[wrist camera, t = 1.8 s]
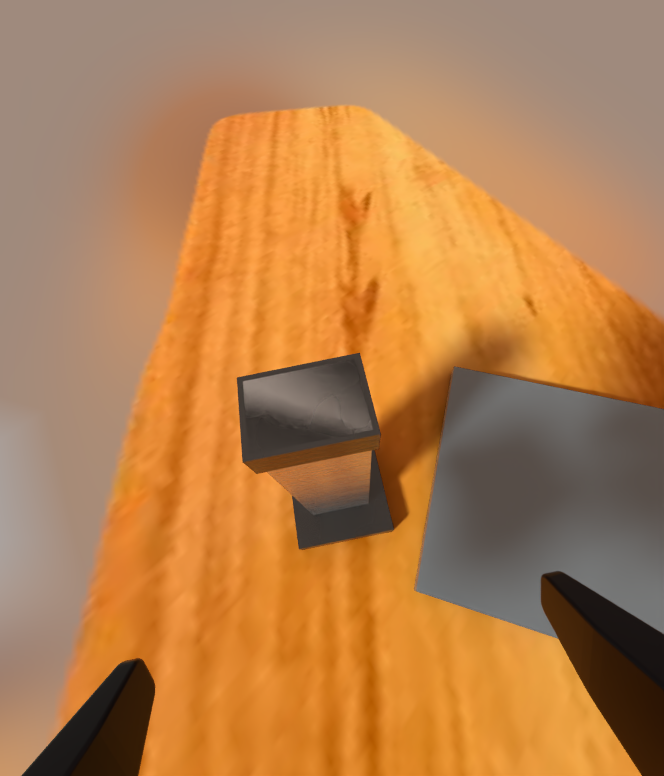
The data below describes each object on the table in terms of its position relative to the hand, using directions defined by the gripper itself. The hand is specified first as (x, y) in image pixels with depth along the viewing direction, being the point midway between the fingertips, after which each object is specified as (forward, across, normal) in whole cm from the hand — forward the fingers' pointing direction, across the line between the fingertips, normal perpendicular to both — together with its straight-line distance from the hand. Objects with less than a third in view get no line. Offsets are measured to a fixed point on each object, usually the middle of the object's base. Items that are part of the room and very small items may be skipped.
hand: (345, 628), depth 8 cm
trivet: (+10, -12, +7) cm, 17 cm away
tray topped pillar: (+12, 0, +5) cm, 13 cm away
